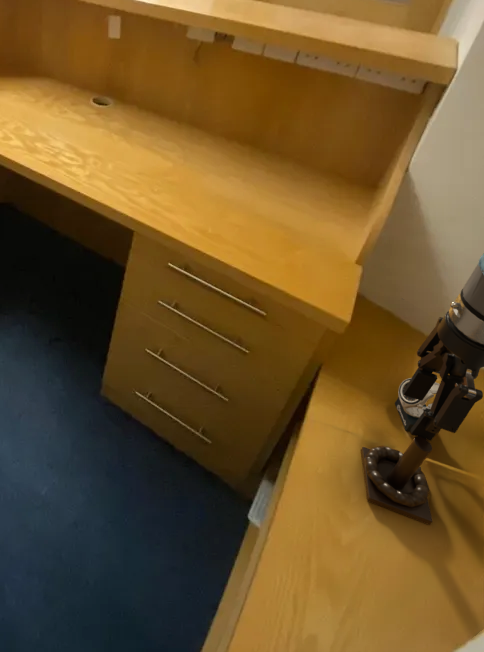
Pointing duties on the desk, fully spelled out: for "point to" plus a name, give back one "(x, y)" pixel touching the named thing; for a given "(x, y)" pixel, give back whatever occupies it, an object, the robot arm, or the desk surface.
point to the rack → (400, 479)
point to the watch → (412, 405)
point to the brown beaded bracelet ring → (397, 496)
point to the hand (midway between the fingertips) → (416, 414)
